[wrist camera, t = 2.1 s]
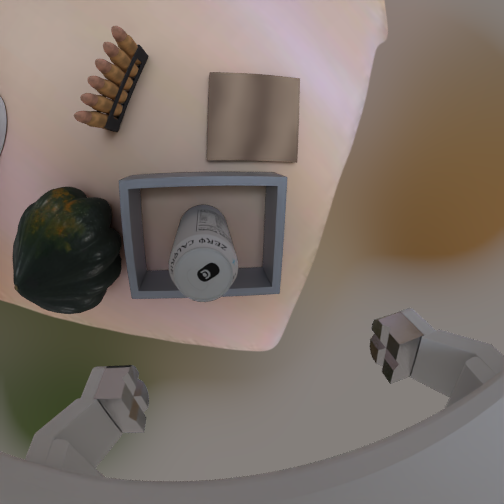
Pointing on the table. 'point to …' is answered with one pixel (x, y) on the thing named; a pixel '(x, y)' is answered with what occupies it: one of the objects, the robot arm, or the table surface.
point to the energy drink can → (203, 255)
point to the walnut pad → (252, 117)
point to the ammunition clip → (113, 82)
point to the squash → (66, 251)
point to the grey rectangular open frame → (276, 185)
